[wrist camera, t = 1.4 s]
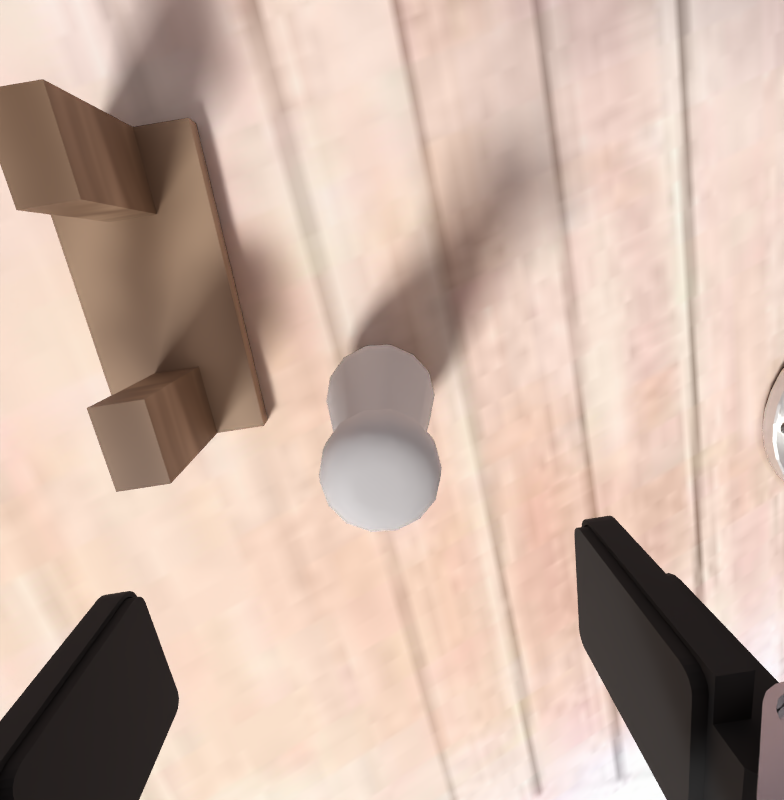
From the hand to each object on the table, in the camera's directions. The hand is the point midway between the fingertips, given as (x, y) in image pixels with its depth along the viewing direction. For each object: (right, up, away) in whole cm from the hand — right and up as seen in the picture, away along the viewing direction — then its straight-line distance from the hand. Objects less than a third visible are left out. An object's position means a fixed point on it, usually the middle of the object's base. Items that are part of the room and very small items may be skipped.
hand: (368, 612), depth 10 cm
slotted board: (-12, +10, +16) cm, 23 cm away
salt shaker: (0, +5, +18) cm, 19 cm away
